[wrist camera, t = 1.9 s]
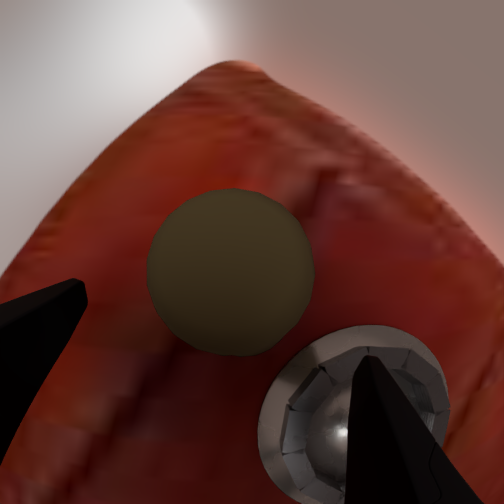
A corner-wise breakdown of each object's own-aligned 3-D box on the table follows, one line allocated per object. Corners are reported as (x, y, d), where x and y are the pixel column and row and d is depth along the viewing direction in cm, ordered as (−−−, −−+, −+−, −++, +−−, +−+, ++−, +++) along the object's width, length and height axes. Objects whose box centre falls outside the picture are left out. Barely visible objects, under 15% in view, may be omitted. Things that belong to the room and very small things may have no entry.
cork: (249, 376, 17) (240, 422, 7) (174, 312, 18) (80, 269, 8) (312, 299, 18) (381, 239, 8) (237, 240, 20) (216, 126, 9)
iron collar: (458, 445, 15) (478, 453, 12) (298, 531, 13) (303, 550, 11) (409, 293, 18) (428, 285, 16) (225, 375, 17) (220, 379, 15)
